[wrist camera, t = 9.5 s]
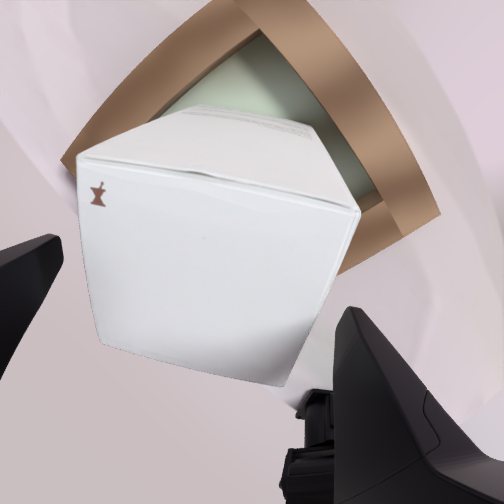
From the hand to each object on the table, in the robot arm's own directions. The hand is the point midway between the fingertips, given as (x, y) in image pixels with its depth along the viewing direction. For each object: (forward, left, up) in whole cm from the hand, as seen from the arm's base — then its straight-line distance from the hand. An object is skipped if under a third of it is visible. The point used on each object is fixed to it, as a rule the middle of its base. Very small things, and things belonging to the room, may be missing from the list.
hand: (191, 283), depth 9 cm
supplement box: (0, 0, -12) cm, 12 cm away
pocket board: (0, 0, -13) cm, 13 cm away
